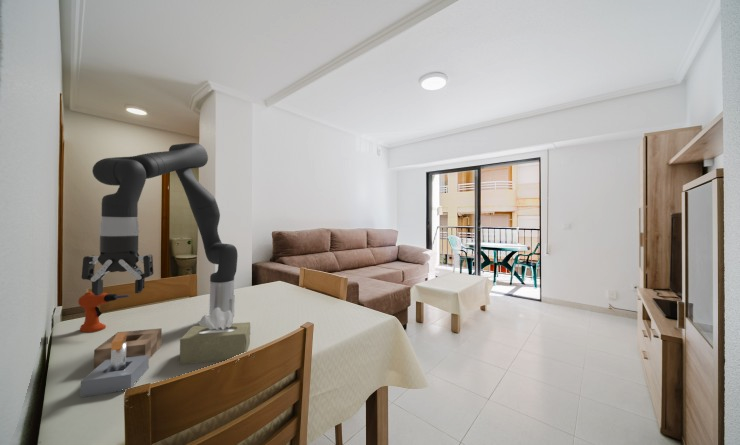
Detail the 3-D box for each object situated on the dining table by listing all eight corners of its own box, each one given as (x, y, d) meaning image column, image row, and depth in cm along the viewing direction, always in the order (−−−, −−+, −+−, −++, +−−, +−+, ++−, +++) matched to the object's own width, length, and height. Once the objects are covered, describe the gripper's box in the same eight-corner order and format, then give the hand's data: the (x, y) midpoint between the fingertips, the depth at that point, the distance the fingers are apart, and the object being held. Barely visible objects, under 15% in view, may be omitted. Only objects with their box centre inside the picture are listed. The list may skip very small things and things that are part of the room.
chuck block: (161, 345, 91) (161, 328, 91) (145, 363, 80) (145, 344, 80) (117, 350, 87) (117, 332, 87) (93, 370, 76) (94, 349, 76)
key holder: (148, 368, 78) (148, 354, 78) (130, 389, 68) (131, 374, 68) (105, 374, 74) (105, 360, 74) (80, 397, 65) (80, 381, 65)
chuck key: (122, 386, 69) (124, 340, 69) (107, 389, 68) (108, 343, 68) (127, 373, 75) (129, 331, 75) (113, 376, 73) (114, 333, 73)
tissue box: (178, 365, 80) (179, 313, 80) (190, 349, 89) (191, 303, 89) (245, 358, 85) (246, 310, 85) (250, 344, 94) (251, 300, 94)
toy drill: (126, 329, 99) (122, 290, 99) (76, 334, 99) (71, 295, 99) (137, 324, 104) (133, 286, 104) (89, 328, 104) (85, 291, 103)
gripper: (74, 234, 65) (74, 300, 65) (145, 235, 69) (145, 296, 70) (94, 232, 72) (93, 291, 72) (157, 233, 76) (157, 288, 77)
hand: (119, 293), depth 71 cm, fingers open, 8 cm apart
